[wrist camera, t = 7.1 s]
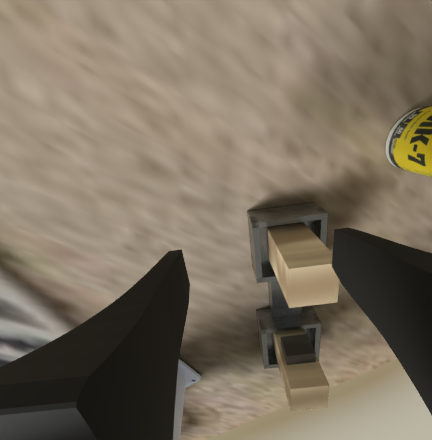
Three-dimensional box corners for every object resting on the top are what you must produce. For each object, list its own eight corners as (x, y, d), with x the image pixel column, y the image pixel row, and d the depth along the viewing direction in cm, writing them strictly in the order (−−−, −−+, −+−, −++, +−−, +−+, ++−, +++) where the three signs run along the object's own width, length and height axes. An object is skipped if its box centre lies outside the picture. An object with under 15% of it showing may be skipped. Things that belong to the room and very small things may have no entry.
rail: (308, 340, 27) (318, 362, 25) (259, 346, 27) (264, 368, 25) (313, 201, 20) (328, 212, 17) (247, 210, 20) (252, 223, 18)
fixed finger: (302, 345, 25) (327, 407, 20) (273, 348, 25) (290, 411, 20) (302, 317, 23) (330, 376, 18) (272, 320, 24) (290, 380, 18)
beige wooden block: (266, 227, 19) (288, 268, 14) (304, 222, 19) (341, 262, 14) (269, 269, 21) (289, 320, 15) (303, 265, 21) (336, 315, 15)
